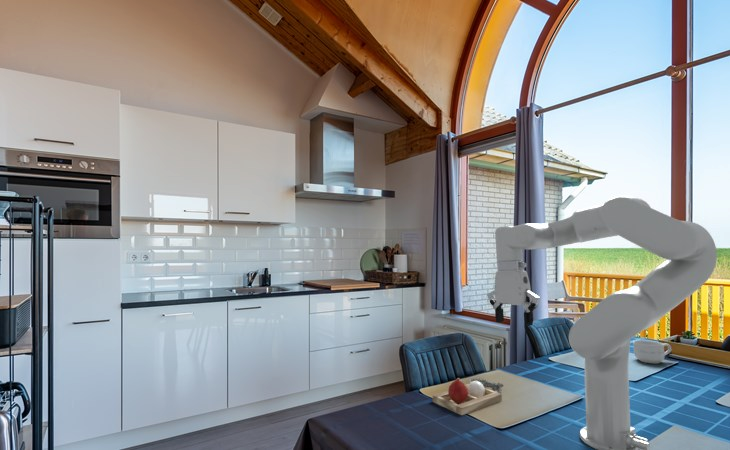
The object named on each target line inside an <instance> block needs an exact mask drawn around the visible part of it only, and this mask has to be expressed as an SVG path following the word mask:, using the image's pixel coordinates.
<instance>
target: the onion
mask: <svg viewBox="0 0 730 450" xmlns="http://www.w3.org/2000/svg"><path fill="white" fill-rule="evenodd" d="M465 385H466V384H465V383H464V382H462V380H461V379H460V377H457V378H456V379H455V380H454V381H452V382H451V383H450V384H449V387H448V393H449V396H450V398H451V399H452V400H453V401H454V402H455V403H456V404H458V405H459V404H461V403H462V402H463V401H465V400H466V398H467V396H468V390H467V387H466V386H465Z"/></svg>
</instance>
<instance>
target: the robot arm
mask: <svg viewBox="0 0 730 450" xmlns="http://www.w3.org/2000/svg"><path fill="white" fill-rule="evenodd" d="M494 232H495V235H494V236H495V251H496V252H495V253H496V266H497V267H496V268H497V271H495V277H494V290H492V291H491V292H489V293H487V295H486V296H487V299H488V301H489V303H490V305H491V306H492V309H494V314H495V316H494V317H495V322H496V323H502V322H504V321H505V318H504V317H505V316H504V308H503V306H504V305H511V306H512V305H513V306H521V307H522V308H523V310H524V311H525V312H523V320H524V326H525V327H531V326H533V325H534V324H533V323H534V316H533V315H534V314H533V312H534V311H535V309H536V308H538V305H539V303H540V300H541V297H540V296H539V295H537V294H535V293H534V292H532V290H531V289H532V288H531V283H530V278H529V275H528V272H527V271H526V270H524V269H525V268H527V266H528V264H527V262H524V258H523V254H524V253H523V250H546V249H552V248H556V247H557V248H558V247H561V246H562V247H563V246H568V245H572V244H577V243H578V244H579V243H585V242H591V241H594V240H600V239H605V238H606V239H607V238H610V237H617V236H619V237H621V238H623V239H625V240H626V241H629V242H630V243H632V244H634V245H635V246H638V247H640V248H642V249H644V250H645V251H648V252H650V253H652V254H653V255H655V256H657V257H660V258H662V259H665V260H663V262H661V264H659V265H658V266H657V267H655V268H654V269H652V270H651V271H650V272H649V273H647V275H646V276H644V277H643V278H642V279H640V280H639V281H638V282H637V283H635V284H633V286H631V287H629V288H624V289H622V290H618V291H615V292H612V293H611V294H609V295H608V296H606V297H605V298H603V299H602V300H601V301H599V302H598V303H597V304H596V305H594V306H593V308H591V309H590V310H588V311H587V313H585V314H584V315H583V316H582V317H580V318H579V319H578V320H577V321H576V322H575V323H573V325H572V326H571V328H570V329H569V332H568V342H569V345H570V347H571V349H572V351H574V352H575V354H576V355H578V356H579V357H581V358H583V359H584V389H585V390H584V393H585V396H584V398H585V400H584V401H585V425H586V426H584V427H582V428H580V431H579V437H580V439H581V441H583V443H584V444H586V445H587V446H589V447H591V448H593V449H595V450H651V445H650V443H649V439H647V438H645V437H642V436H640V435H639V436H638V434H637V433H636V428H635V427H633V426H631V410H630V409H631V407H630V403H631V402H630V385H629V383H630V380H629V379H630V375H629V359H630V350H631V349H630V348H631V339H632V338H634V337H635V336H637V335H638V334H639V333H641V332H643V331H645V330H648V329H649V328H651V327H653V326H654V325H655V324H656V323H657V322H659V321H660V320H661V318H663V317H664V316H666V315H667V314H668V313H670V312H671V311H672V310H674V309H675V308H676V307H678V306H679V305H680V304H682V303H683V302H684V301H685V300H686V299H688V298H690V297H691V296H692V295H693V294H694V293H696V291H698V290H699V289H700V288H701V287H702V286H704V285H705V284H706V283H707V281H708V280H709V278H710V277H711V276H712V275H713V272H714V271H715V268H716V265H717V259H718V251H717V245H716V244H715V241H714V238H713V237H712V235H711V234H710V232H709V231H708V230H707V229H706V228H705V227H704V226H702V225H700V224H698V223H696V222H693V221H687V220H679V219H676V218H675V217H672V216H670V215H667V214H665V213H663V212H660V211H658V210H656V209H654V208H652V207H651V205H650V204H649V203H648V202H647V201H645V200H643V199H642V198H638V197H633V196H628V195H618V196H614V197H611V198H609V199H607V201H605V202H603V204H598V205H593V206H591V207H586V208H582V209H577V210H576V211H574V212H573V213H572V215H571V216H568V217H566V218H563V219H559V220H556V221H552V222H548V223H521V224H518V225H509V226H499V227H497V228H495V231H494Z"/></svg>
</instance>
